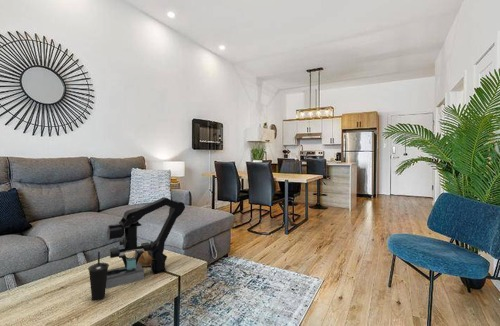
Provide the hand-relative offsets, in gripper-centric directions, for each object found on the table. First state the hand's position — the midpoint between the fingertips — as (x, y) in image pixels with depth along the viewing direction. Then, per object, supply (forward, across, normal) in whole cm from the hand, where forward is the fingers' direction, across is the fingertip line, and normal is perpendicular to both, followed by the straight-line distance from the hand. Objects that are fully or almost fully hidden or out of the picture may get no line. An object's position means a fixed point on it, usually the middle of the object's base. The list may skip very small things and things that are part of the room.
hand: (130, 266), depth 127 cm
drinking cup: (+6, +15, +11) cm, 20 cm away
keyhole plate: (+6, +4, 0) cm, 7 cm away
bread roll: (+6, -9, -15) cm, 19 cm away
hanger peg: (+4, 0, 0) cm, 4 cm away
